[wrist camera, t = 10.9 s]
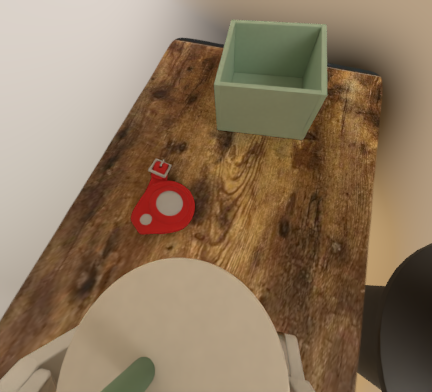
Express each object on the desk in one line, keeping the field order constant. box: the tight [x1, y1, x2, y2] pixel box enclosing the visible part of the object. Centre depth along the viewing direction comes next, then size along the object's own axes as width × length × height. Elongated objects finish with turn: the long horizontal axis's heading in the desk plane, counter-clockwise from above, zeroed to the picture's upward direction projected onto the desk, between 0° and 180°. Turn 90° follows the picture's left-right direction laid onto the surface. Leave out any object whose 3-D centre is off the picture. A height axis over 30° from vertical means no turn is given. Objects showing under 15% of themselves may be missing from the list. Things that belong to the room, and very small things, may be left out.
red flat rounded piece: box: [131, 158, 195, 235], centre depth 31 cm, size 12×4×10 cm
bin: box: [214, 20, 327, 140], centre depth 35 cm, size 16×16×10 cm
